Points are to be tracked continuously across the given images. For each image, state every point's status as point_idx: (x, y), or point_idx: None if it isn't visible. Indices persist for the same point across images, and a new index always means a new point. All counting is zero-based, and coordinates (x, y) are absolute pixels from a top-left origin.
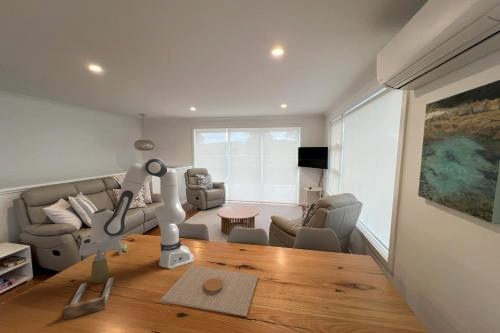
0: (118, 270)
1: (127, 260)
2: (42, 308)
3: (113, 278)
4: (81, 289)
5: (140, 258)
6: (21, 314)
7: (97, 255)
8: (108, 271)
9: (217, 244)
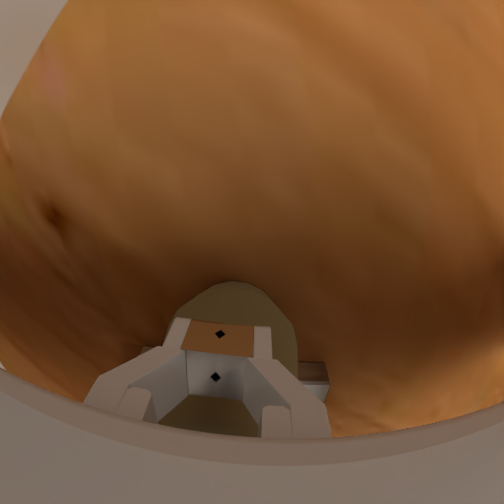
0: (361, 226)
1: (424, 79)
2: (63, 388)
3: (325, 396)
4: None
5: (497, 121)
6: (26, 377)
7: None
8: (297, 349)
9: None
